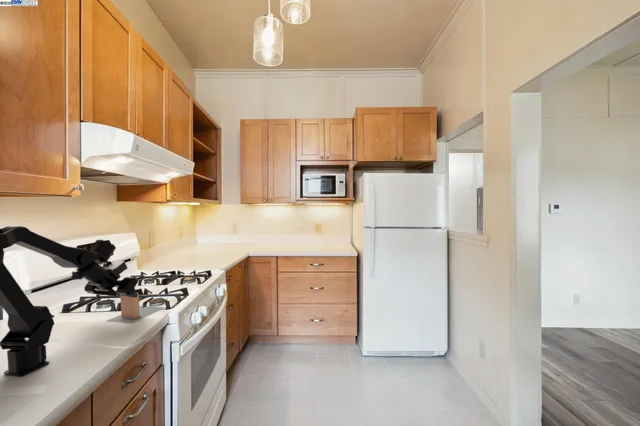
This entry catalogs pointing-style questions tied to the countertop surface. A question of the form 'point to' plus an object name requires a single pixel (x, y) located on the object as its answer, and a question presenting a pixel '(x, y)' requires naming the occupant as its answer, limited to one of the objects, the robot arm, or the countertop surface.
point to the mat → (143, 313)
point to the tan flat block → (129, 307)
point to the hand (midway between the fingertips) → (126, 295)
